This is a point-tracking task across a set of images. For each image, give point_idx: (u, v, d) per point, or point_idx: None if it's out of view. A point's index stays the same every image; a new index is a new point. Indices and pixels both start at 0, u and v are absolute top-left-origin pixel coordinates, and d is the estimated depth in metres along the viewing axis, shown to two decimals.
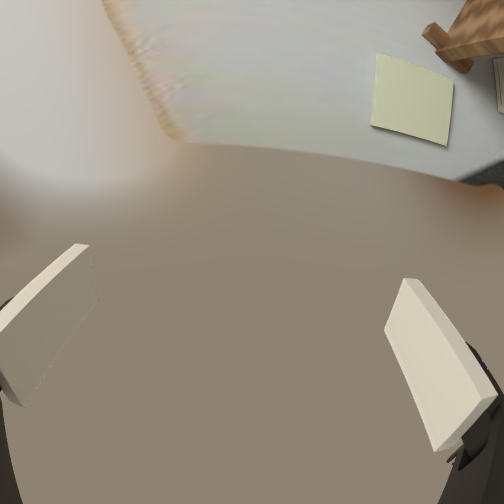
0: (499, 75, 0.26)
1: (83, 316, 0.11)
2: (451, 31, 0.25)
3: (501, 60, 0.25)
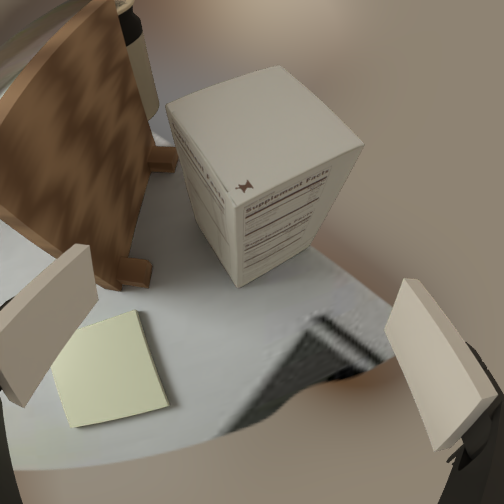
0: (206, 236, 0.30)
1: (83, 316, 0.11)
2: None
3: (194, 212, 0.30)
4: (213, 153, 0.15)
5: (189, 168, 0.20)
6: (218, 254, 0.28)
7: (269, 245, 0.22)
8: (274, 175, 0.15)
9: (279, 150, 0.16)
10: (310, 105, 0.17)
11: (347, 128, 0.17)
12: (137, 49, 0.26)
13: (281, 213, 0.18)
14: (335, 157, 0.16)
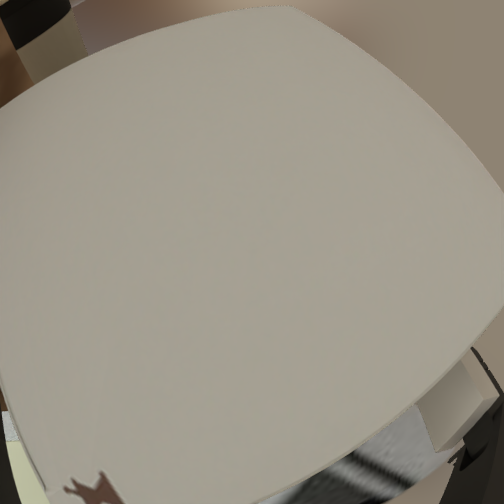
0: None
1: None
2: None
3: None
4: (4, 306, 0.03)
5: None
6: None
7: None
8: (223, 472, 0.02)
9: (265, 320, 0.03)
10: (389, 98, 0.05)
11: (500, 193, 0.04)
12: (59, 37, 0.14)
13: None
14: (483, 326, 0.03)
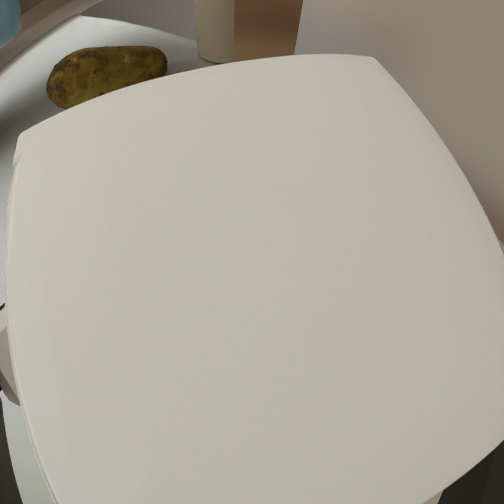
0: None
1: None
2: None
3: None
4: (38, 394, 0.03)
5: None
6: None
7: None
8: None
9: (285, 470, 0.03)
10: (459, 229, 0.04)
11: None
12: None
13: None
14: (462, 469, 0.03)
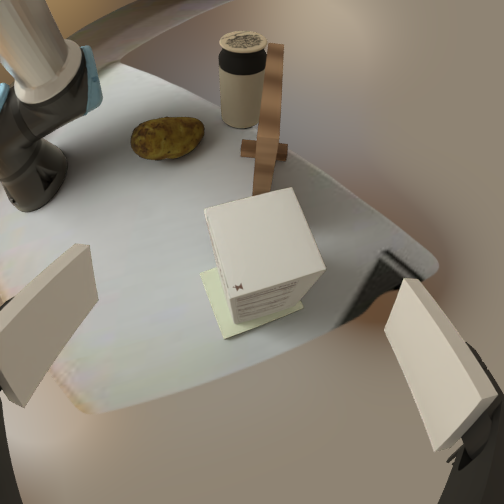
0: None
1: (83, 316, 0.11)
2: None
3: None
4: (226, 259, 0.26)
5: None
6: None
7: (256, 309, 0.33)
8: (257, 283, 0.26)
9: (266, 266, 0.26)
10: (299, 232, 0.27)
11: (318, 255, 0.27)
12: (264, 74, 0.44)
13: (262, 298, 0.29)
14: (301, 277, 0.26)
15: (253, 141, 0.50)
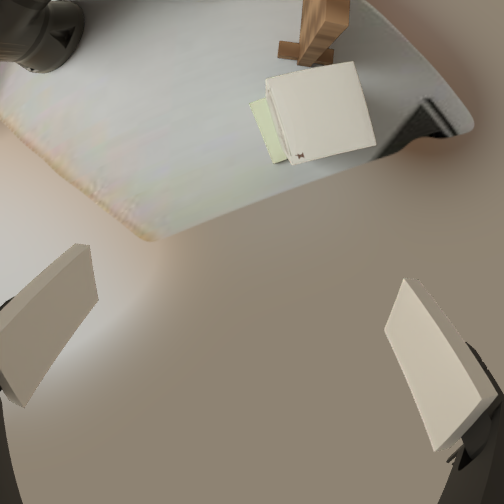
0: None
1: (83, 316, 0.11)
2: (300, 35, 0.35)
3: (266, 96, 0.38)
4: (289, 130, 0.27)
5: (272, 107, 0.29)
6: (276, 131, 0.40)
7: None
8: (316, 153, 0.27)
9: (325, 138, 0.27)
10: (357, 109, 0.25)
11: (371, 132, 0.26)
12: None
13: None
14: (354, 149, 0.27)
15: None
